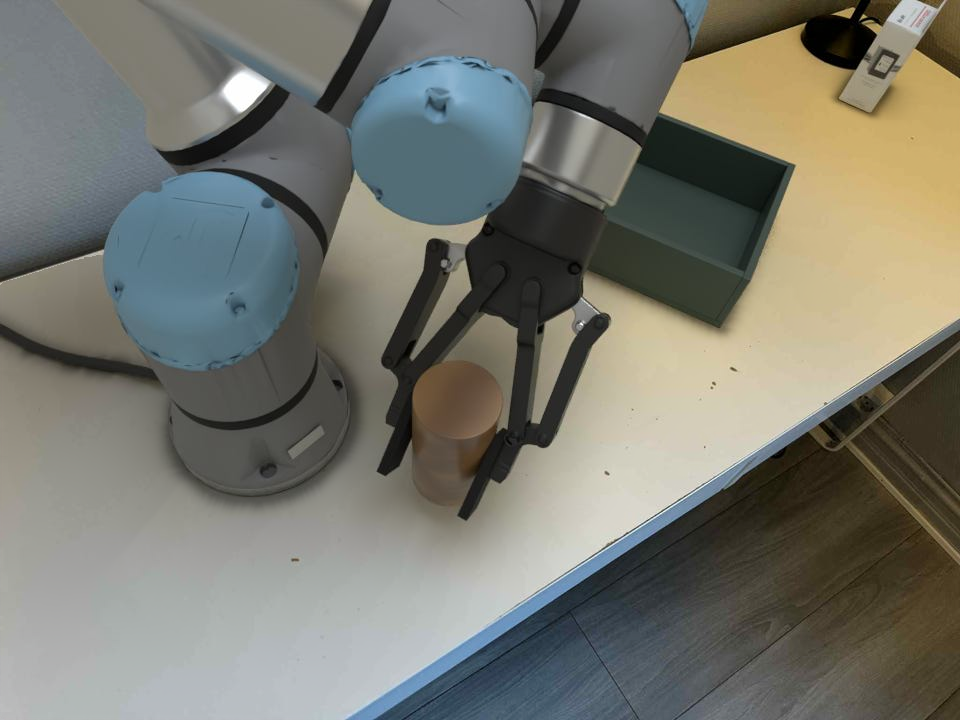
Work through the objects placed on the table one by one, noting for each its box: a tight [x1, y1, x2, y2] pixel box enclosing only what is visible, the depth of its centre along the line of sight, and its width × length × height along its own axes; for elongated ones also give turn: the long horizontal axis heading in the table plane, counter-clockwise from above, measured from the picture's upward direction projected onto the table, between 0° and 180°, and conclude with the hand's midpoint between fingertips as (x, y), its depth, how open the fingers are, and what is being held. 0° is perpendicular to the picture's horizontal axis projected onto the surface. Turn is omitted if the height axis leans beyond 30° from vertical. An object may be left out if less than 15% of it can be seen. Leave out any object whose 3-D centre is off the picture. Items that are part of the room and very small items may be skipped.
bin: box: [587, 111, 797, 328], centre depth 74 cm, size 24×20×8 cm
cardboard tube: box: [411, 359, 504, 508], centre depth 49 cm, size 6×6×12 cm
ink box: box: [838, 0, 948, 113], centre depth 90 cm, size 8×5×15 cm, turn 143°
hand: (427, 489), depth 49 cm, fingers closed on cardboard tube, 6 cm apart
